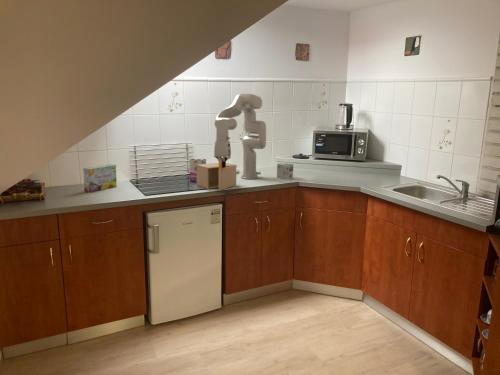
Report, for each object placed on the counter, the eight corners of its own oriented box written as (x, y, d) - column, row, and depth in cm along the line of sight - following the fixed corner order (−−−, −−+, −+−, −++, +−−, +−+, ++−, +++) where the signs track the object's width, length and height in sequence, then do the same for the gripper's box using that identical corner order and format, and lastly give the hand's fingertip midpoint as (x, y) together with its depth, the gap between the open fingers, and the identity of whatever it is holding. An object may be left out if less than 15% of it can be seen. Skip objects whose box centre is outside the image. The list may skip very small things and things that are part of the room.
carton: (223, 181, 300) (223, 162, 297) (235, 185, 289) (235, 164, 286) (196, 185, 287) (196, 164, 283) (207, 188, 276) (207, 167, 273)
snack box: (90, 193, 260) (88, 168, 257) (84, 191, 263) (82, 167, 260) (117, 187, 277) (116, 164, 274) (111, 185, 280) (110, 163, 277)
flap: (235, 184, 289) (235, 154, 284) (237, 184, 288) (237, 154, 283) (218, 190, 270) (218, 158, 265) (220, 190, 269) (220, 158, 265)
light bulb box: (293, 178, 316) (293, 164, 314) (289, 179, 311) (289, 165, 309) (280, 176, 322) (281, 162, 320) (276, 177, 317) (276, 163, 314)
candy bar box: (206, 181, 298) (206, 158, 295) (202, 183, 294) (202, 159, 290) (193, 180, 303) (193, 157, 300) (189, 181, 299) (189, 158, 295)
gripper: (236, 138, 265) (235, 167, 269) (214, 137, 272) (214, 165, 276) (230, 139, 259) (230, 169, 262) (208, 138, 265) (208, 167, 269)
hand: (222, 167), depth 269 cm, fingers closed
